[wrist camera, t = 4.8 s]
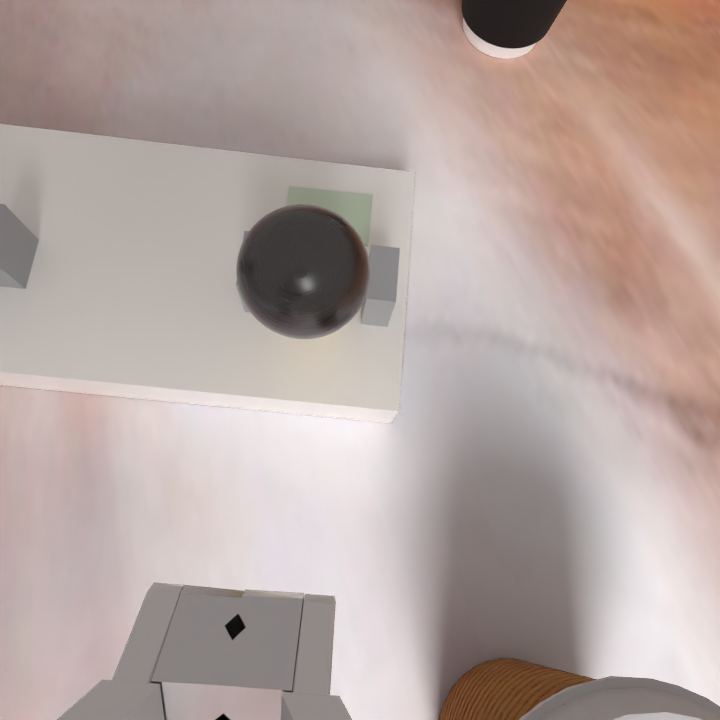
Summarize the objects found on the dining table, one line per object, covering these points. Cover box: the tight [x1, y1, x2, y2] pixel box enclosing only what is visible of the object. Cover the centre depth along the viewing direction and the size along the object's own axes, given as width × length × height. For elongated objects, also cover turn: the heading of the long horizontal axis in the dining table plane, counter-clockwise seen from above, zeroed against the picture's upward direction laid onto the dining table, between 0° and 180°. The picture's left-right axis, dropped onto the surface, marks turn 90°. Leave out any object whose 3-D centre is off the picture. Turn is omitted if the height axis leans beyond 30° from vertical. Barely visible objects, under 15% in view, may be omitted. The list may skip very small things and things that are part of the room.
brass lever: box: [236, 204, 371, 339], centre depth 19 cm, size 3×3×12 cm
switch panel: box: [0, 124, 415, 423], centre depth 26 cm, size 12×24×6 cm, turn 85°
